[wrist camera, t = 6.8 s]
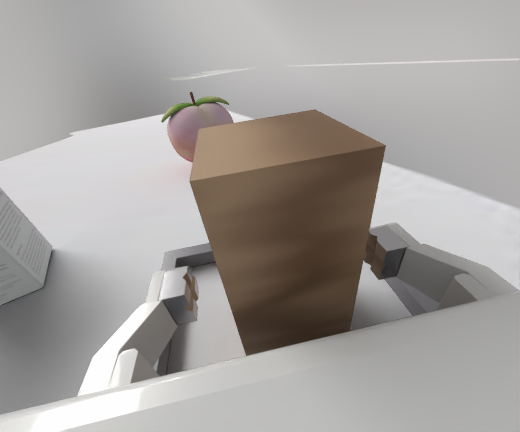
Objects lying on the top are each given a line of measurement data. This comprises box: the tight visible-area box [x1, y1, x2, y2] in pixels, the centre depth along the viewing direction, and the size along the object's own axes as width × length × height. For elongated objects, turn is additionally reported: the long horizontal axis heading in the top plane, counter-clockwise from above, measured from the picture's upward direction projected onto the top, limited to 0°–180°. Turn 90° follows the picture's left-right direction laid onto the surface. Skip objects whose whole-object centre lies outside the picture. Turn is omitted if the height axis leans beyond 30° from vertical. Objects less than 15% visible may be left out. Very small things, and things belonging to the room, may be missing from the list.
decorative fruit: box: [162, 92, 234, 162], centre depth 33 cm, size 9×8×10 cm
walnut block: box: [190, 110, 386, 356], centre depth 11 cm, size 5×5×11 cm
